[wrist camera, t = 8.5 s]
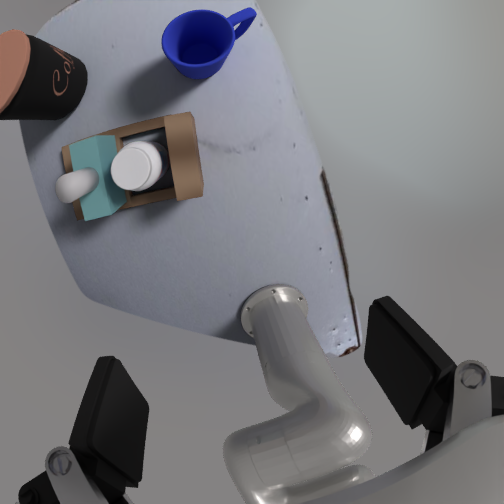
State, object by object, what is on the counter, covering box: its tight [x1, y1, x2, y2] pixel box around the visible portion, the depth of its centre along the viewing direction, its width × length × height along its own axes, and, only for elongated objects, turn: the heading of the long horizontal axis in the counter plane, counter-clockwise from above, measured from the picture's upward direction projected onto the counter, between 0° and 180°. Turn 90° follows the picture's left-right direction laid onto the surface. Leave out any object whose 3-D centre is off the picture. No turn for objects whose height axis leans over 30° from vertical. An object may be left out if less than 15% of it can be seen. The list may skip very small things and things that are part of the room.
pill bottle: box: [111, 141, 169, 191], centre depth 31 cm, size 6×6×11 cm
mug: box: [162, 8, 257, 79], centre depth 26 cm, size 8×12×10 cm
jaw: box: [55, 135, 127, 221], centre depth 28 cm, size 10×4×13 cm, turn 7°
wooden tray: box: [61, 112, 204, 220], centre depth 32 cm, size 12×21×9 cm, turn 97°
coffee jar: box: [0, 29, 87, 120], centre depth 20 cm, size 11×11×18 cm
